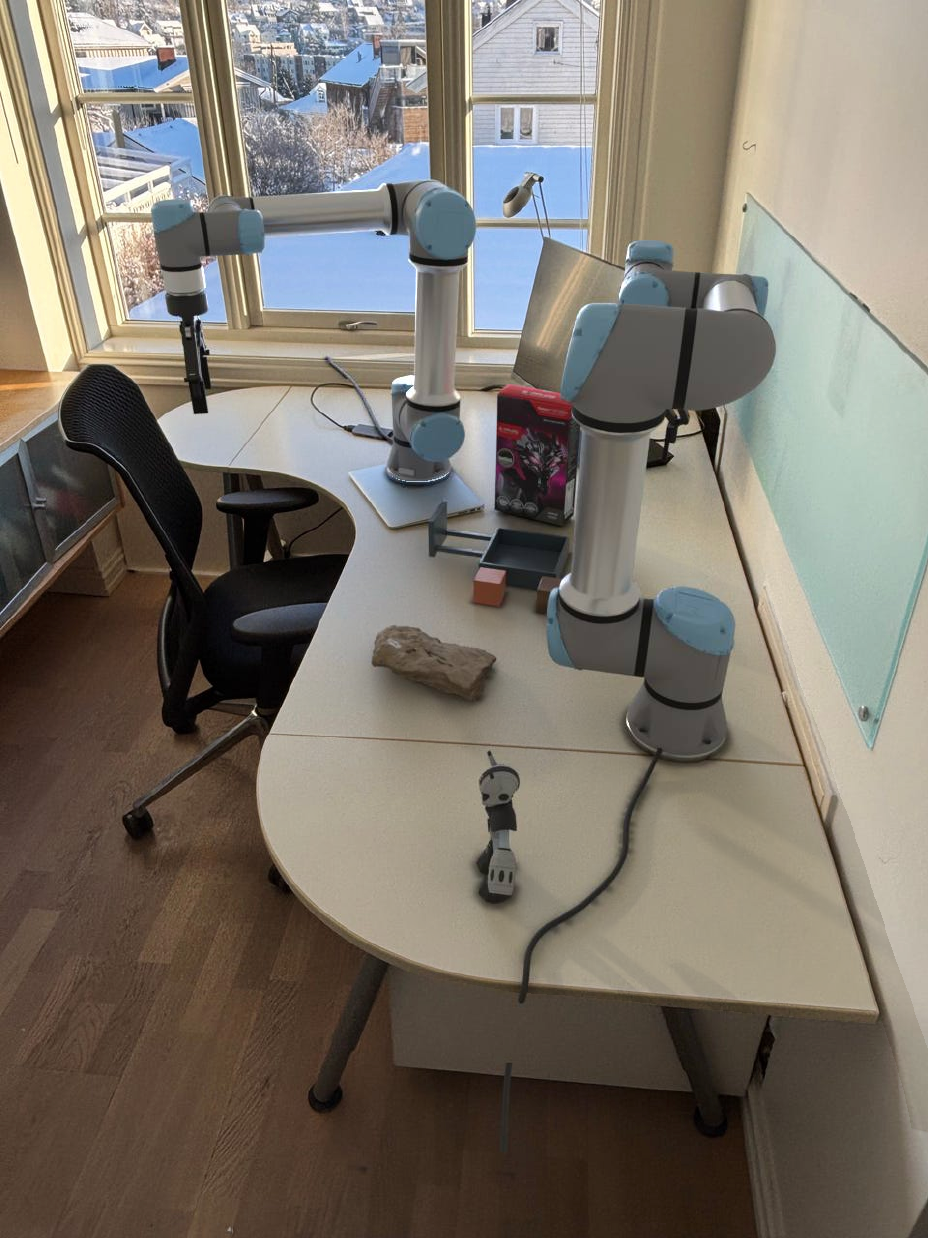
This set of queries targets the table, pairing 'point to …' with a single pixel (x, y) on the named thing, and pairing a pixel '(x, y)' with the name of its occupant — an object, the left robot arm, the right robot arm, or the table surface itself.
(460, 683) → the stone
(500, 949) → the table surface
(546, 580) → the walnut cube
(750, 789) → the table surface
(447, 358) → the left robot arm
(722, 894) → the table surface
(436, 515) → the tray
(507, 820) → the robot
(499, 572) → the terracotta cube
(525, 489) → the graphics card box
